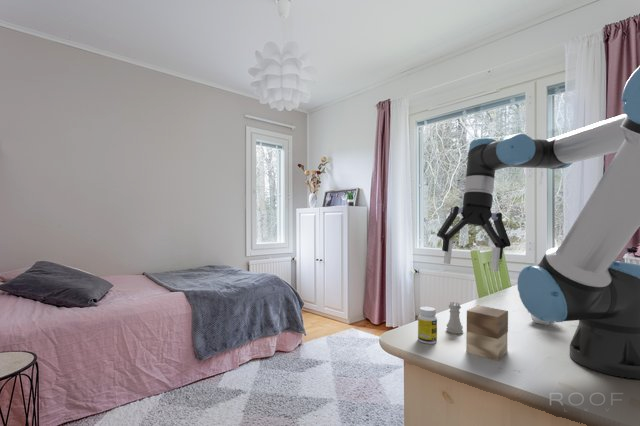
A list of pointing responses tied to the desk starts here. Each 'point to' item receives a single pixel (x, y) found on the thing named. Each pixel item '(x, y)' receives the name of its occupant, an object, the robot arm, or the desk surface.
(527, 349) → the desk surface
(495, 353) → the beech block
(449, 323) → the rook chess piece
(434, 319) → the supplement bottle
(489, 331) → the walnut block
